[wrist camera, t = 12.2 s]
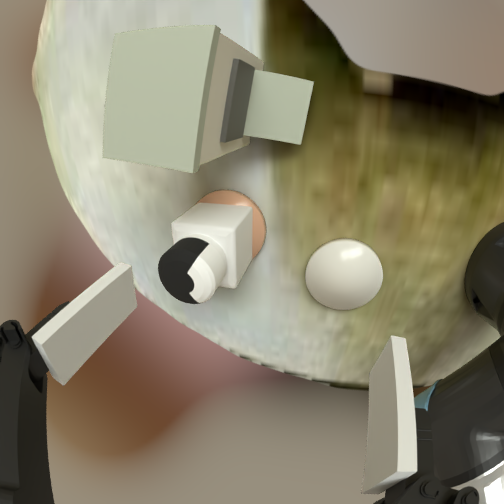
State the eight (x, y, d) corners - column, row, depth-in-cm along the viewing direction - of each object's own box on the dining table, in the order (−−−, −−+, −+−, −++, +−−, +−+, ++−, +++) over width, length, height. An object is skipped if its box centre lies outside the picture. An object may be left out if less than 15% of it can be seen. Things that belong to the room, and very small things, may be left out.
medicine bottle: (201, 252, 39) (156, 304, 28) (197, 201, 35) (143, 242, 25) (252, 259, 37) (220, 319, 27) (253, 205, 34) (215, 252, 23)
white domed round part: (393, 250, 33) (394, 255, 32) (364, 311, 38) (365, 317, 37) (318, 228, 34) (317, 232, 33) (297, 293, 39) (296, 298, 38)
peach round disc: (273, 200, 34) (271, 203, 33) (258, 269, 39) (256, 274, 38) (196, 182, 35) (192, 184, 34) (190, 249, 40) (187, 253, 39)
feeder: (317, 70, 25) (306, 33, 13) (299, 157, 31) (274, 191, 18) (197, 55, 28) (114, 33, 15) (185, 135, 33) (102, 157, 20)
